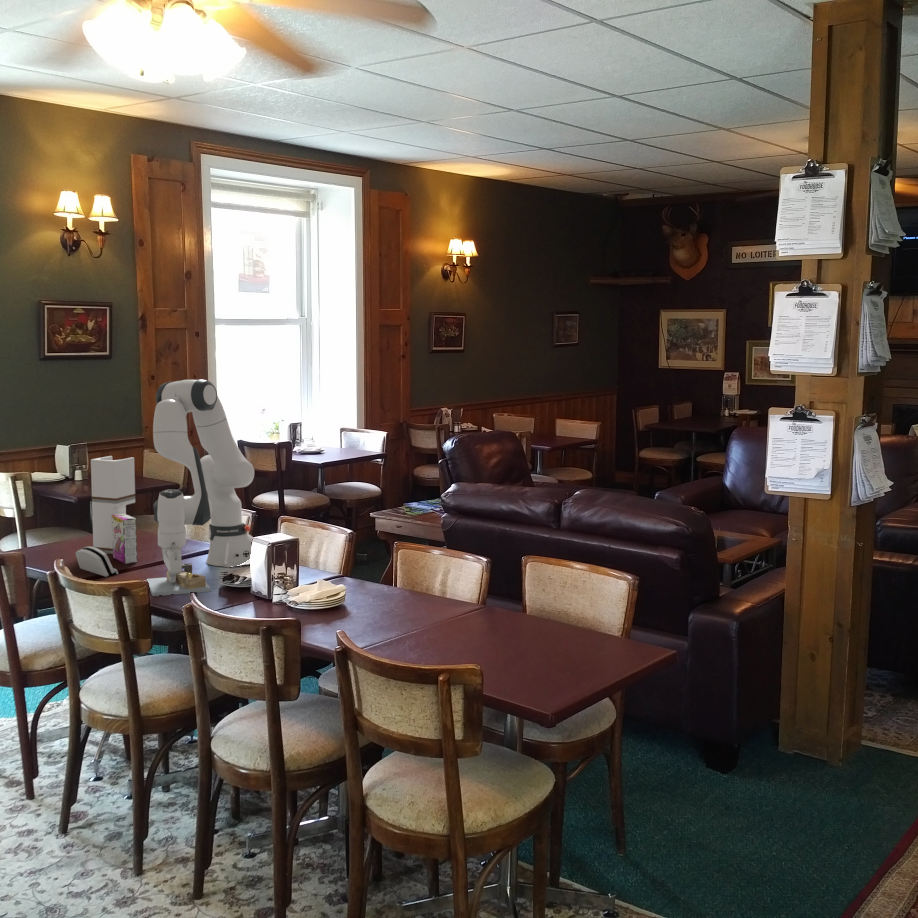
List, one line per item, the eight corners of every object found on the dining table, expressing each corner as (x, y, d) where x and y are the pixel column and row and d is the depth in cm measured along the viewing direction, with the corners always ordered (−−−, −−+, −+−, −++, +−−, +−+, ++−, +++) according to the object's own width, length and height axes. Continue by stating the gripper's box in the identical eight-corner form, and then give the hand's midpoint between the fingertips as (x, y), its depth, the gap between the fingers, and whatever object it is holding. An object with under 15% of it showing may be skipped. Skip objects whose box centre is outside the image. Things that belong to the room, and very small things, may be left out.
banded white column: (117, 554, 368) (115, 461, 363) (93, 552, 371) (90, 459, 367) (136, 548, 379) (134, 457, 374) (112, 545, 382) (110, 455, 377)
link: (205, 586, 323) (205, 576, 322) (190, 589, 318) (190, 579, 318) (178, 577, 333) (178, 568, 333) (163, 580, 329) (163, 570, 328)
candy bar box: (111, 558, 362) (110, 514, 360) (125, 556, 365) (124, 512, 363) (124, 564, 354) (123, 519, 352) (137, 562, 357) (136, 517, 355)
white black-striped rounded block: (119, 574, 340) (109, 548, 337) (107, 580, 337) (97, 555, 333) (93, 565, 351) (83, 541, 347) (81, 572, 348) (71, 547, 344)
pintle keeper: (191, 579, 335) (191, 562, 334) (197, 589, 322) (197, 571, 322) (166, 581, 331) (166, 564, 330) (171, 592, 319) (171, 573, 318)
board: (201, 578, 337) (201, 574, 337) (210, 591, 321) (210, 587, 321) (146, 582, 330) (146, 578, 330) (152, 596, 314) (152, 592, 314)
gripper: (186, 545, 314) (186, 588, 316) (177, 533, 333) (178, 573, 335) (165, 547, 312) (166, 590, 314) (158, 534, 331) (159, 574, 332)
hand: (172, 581), depth 324 cm, fingers closed
